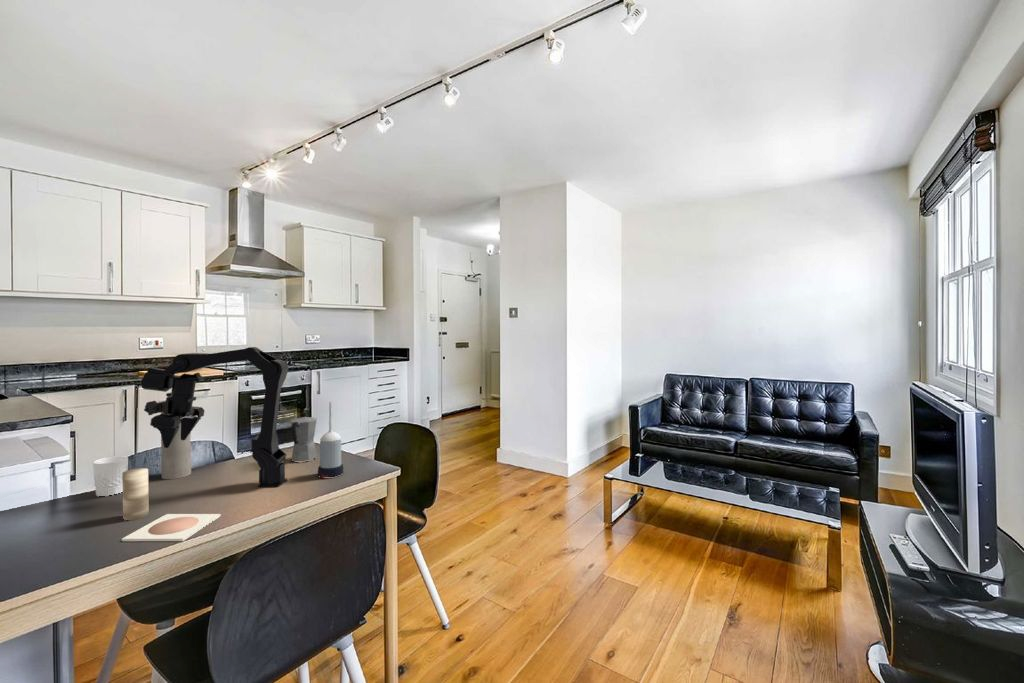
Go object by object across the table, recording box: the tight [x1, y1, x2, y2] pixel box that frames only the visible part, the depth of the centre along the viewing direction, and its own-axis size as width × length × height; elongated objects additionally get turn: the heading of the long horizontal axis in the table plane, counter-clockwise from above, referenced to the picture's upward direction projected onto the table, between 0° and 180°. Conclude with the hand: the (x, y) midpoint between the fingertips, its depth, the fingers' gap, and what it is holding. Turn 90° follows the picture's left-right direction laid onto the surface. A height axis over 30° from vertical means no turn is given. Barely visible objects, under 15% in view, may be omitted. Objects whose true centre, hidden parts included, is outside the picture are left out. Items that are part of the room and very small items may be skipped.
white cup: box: [92, 455, 129, 497], centre depth 135 cm, size 8×8×10 cm
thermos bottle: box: [160, 392, 192, 480], centre depth 151 cm, size 8×8×28 cm
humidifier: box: [317, 401, 344, 477], centre depth 153 cm, size 8×8×25 cm
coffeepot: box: [290, 411, 317, 461], centre depth 170 cm, size 15×9×18 cm, turn 0°
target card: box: [121, 513, 221, 542], centre depth 112 cm, size 14×14×1 cm
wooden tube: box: [122, 467, 150, 521], centre depth 118 cm, size 5×5×12 cm
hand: (175, 443), depth 138 cm, fingers open, 9 cm apart
